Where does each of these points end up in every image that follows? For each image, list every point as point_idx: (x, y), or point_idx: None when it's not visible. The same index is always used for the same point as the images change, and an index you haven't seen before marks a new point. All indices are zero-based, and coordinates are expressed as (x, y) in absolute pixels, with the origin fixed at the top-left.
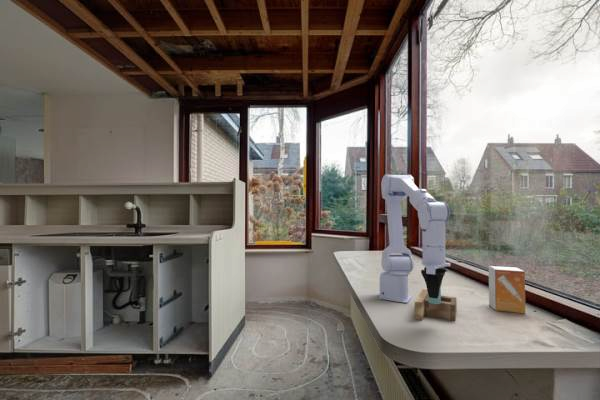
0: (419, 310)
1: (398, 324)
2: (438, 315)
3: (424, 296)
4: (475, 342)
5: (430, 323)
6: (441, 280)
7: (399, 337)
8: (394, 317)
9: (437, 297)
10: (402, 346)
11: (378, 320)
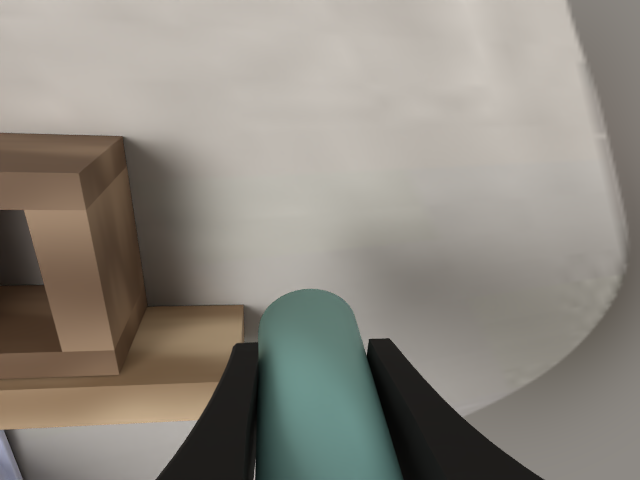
0: None
1: None
2: (133, 242)
3: (55, 393)
4: (445, 16)
5: (266, 263)
6: (450, 470)
7: (511, 345)
8: None
9: (394, 344)
10: (593, 320)
11: None
